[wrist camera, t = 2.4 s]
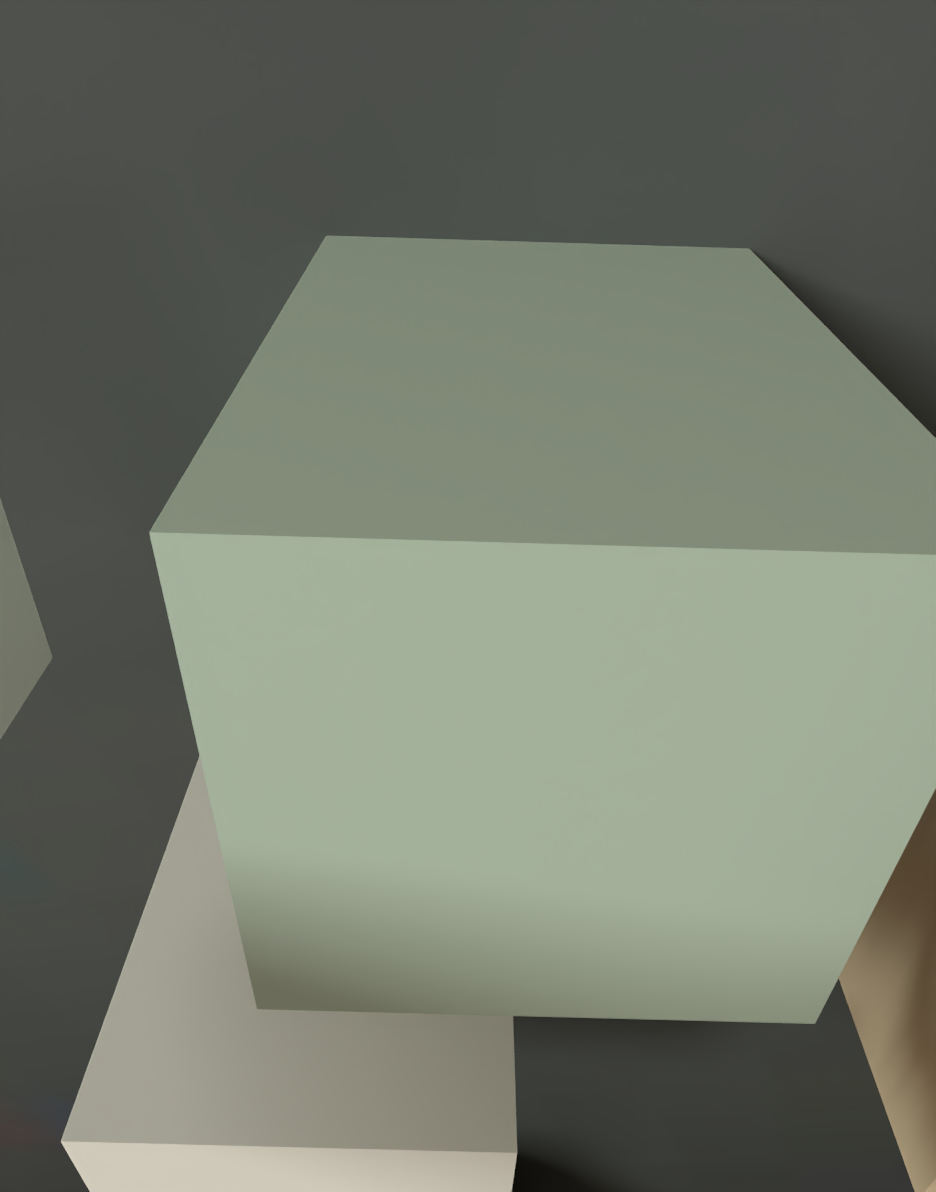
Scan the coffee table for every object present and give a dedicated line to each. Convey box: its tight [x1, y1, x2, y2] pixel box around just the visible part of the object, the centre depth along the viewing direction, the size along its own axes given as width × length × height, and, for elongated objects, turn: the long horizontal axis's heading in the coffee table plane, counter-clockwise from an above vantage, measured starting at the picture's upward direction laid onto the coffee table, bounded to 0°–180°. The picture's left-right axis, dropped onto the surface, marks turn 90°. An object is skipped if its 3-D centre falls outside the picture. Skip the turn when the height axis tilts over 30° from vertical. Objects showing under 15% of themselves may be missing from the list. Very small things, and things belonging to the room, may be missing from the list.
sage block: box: [149, 236, 936, 1024], centre depth 11 cm, size 6×6×8 cm
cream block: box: [61, 756, 517, 1192], centre depth 17 cm, size 7×6×8 cm
